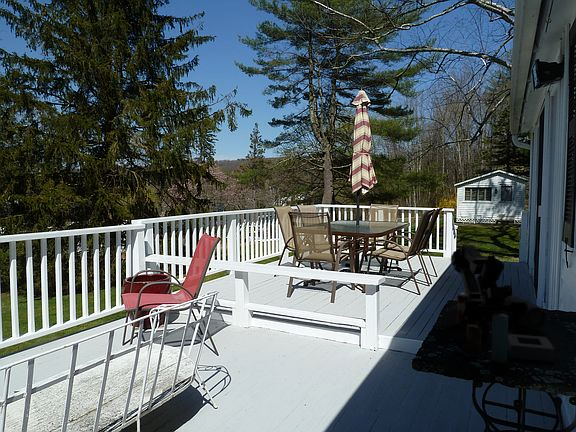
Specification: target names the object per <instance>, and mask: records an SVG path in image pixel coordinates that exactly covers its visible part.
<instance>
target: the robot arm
mask: <svg viewBox="0 0 576 432" xmlns="http://www.w3.org/2000/svg"><path fill="white" fill-rule="evenodd" d="M450 263H451V265H452V267H453V269H454V271H456V272H457V273H459V275H460V276H461V280H462V283H463V286H464V288H465V293H467V295H468V300H466V301H465V302H464V304H463V306H462V315H463V316H464V318H465V319H466V320H467V321H468V325H470V324H473V325H477V326H478V327H479V329H480V330H481V341H482V340H483V341H488V340H489V337H490V324H489V323H488V322H491V323H492V315H493V314H495V312H497V313H503V312H509V315H510V317H508V320H509V321H510V324H511V328H512V331H513V334H516V335H518V328H519V325H518V319H520V318H521V317H523V316H524V314H525V313H526V311H527V309H528V307H527V304H526V303H525V302H523V301H512V303H511V305H510V306H505V305H503V304H502V303H504V302H505V299H504V298H507V296H511V295H512V294H513V289H512V286H511V285H503V286H498V283H497V281H499V279H500V277H501V275H502V274H503V273H502V272H503V270H504V269H505V264H504V263H503V261H501V260H500V259H499V258H496V256H495V255H487V256H485V255H483V254H481V253H480V252H479V251H478V250H477V249H476V246H474V245H471V244H470V245H469V244H465V245H463V244H462V245H460V247H459V248H458V249H456V250H455V251H453V252H452V254H451V256H450ZM476 275H477V277H476ZM513 295H514V294H513Z"/></svg>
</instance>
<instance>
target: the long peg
mask: <svg viewBox="0 0 576 432" xmlns="http://www.w3.org/2000/svg"><path fill="white" fill-rule="evenodd" d="M491 324H492V325H491V326H492V327H491V360H492V362H494V363H496V364H497V363H498V364H506V363H508V361H509V360H508V359H509V358H508V357H509V356H508V355H509V352H508V334H509V317H508V316H507V315H506V314H504V313H493V315H492V322H491Z"/></svg>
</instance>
